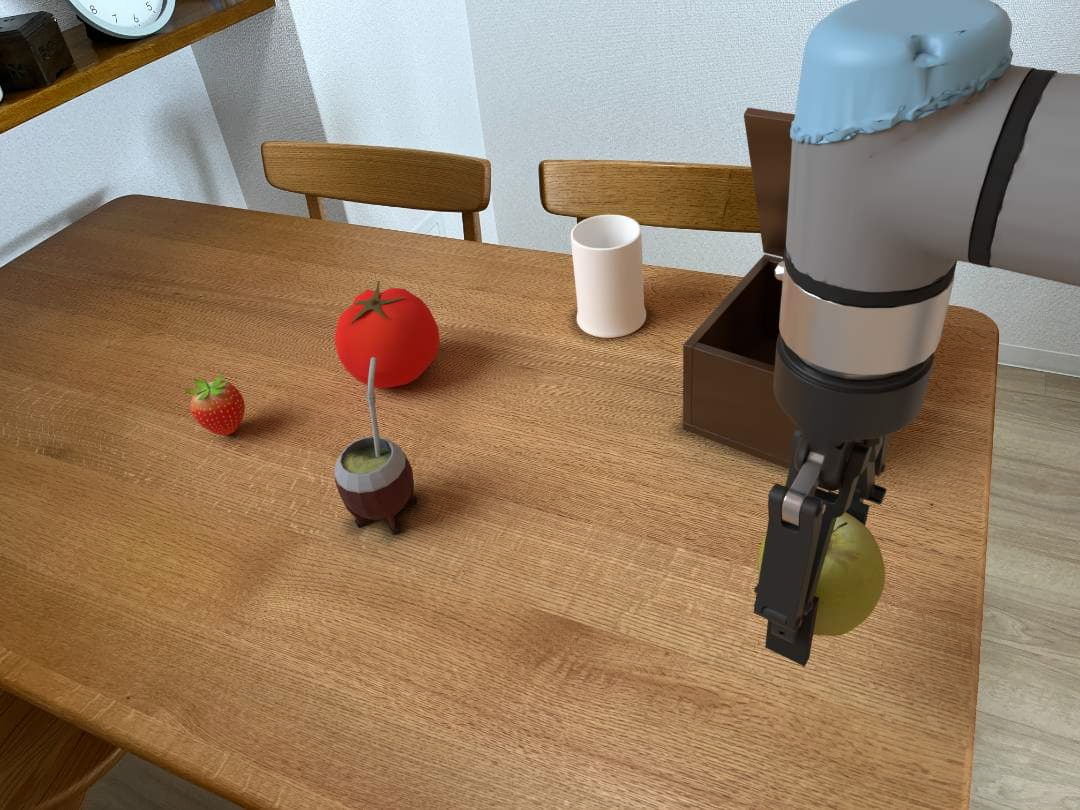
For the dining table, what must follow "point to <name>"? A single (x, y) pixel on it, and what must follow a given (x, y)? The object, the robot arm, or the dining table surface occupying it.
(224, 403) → the fruit
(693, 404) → the chest
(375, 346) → the tomato
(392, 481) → the mate gourd
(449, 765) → the dining table surface
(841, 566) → the apple
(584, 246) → the mug
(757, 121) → the lid
